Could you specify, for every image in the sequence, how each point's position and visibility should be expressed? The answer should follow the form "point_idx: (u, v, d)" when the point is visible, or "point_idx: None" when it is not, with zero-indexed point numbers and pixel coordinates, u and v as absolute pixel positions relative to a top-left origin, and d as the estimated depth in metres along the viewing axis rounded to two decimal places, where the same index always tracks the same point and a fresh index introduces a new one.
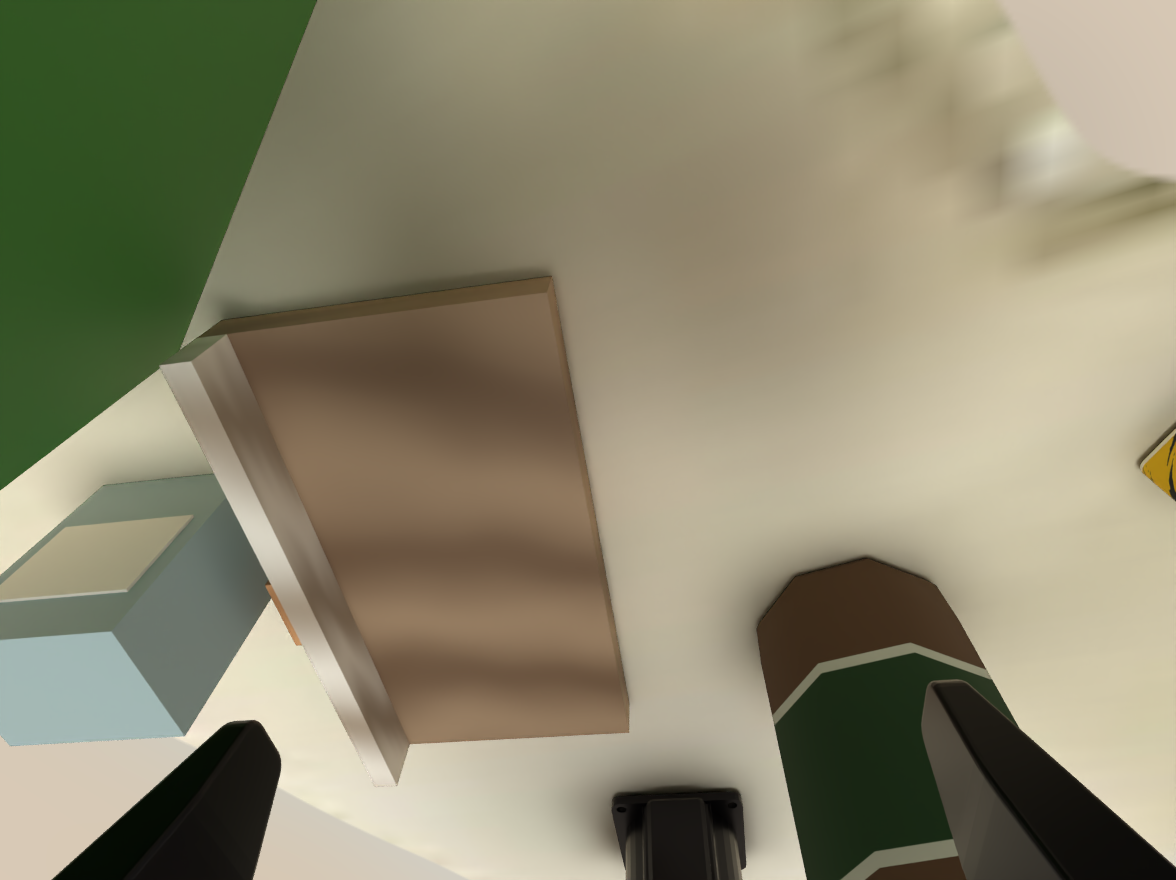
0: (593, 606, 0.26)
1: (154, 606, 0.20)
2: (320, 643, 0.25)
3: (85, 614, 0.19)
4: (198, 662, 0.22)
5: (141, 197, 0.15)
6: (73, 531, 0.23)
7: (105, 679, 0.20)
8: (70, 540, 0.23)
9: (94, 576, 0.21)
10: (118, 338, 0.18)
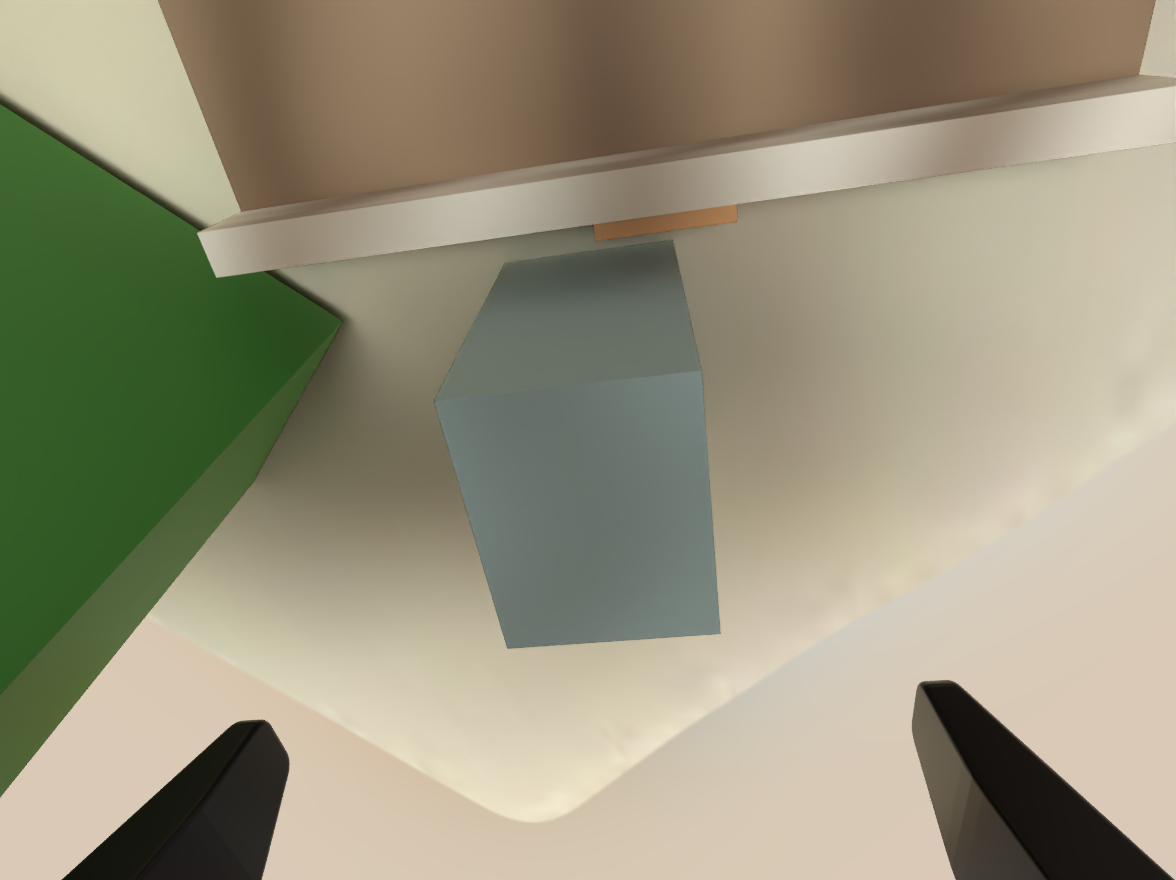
0: None
1: (483, 359, 0.13)
2: (725, 168, 0.14)
3: None
4: (626, 337, 0.13)
5: None
6: None
7: (551, 449, 0.12)
8: None
9: None
10: (127, 327, 0.14)
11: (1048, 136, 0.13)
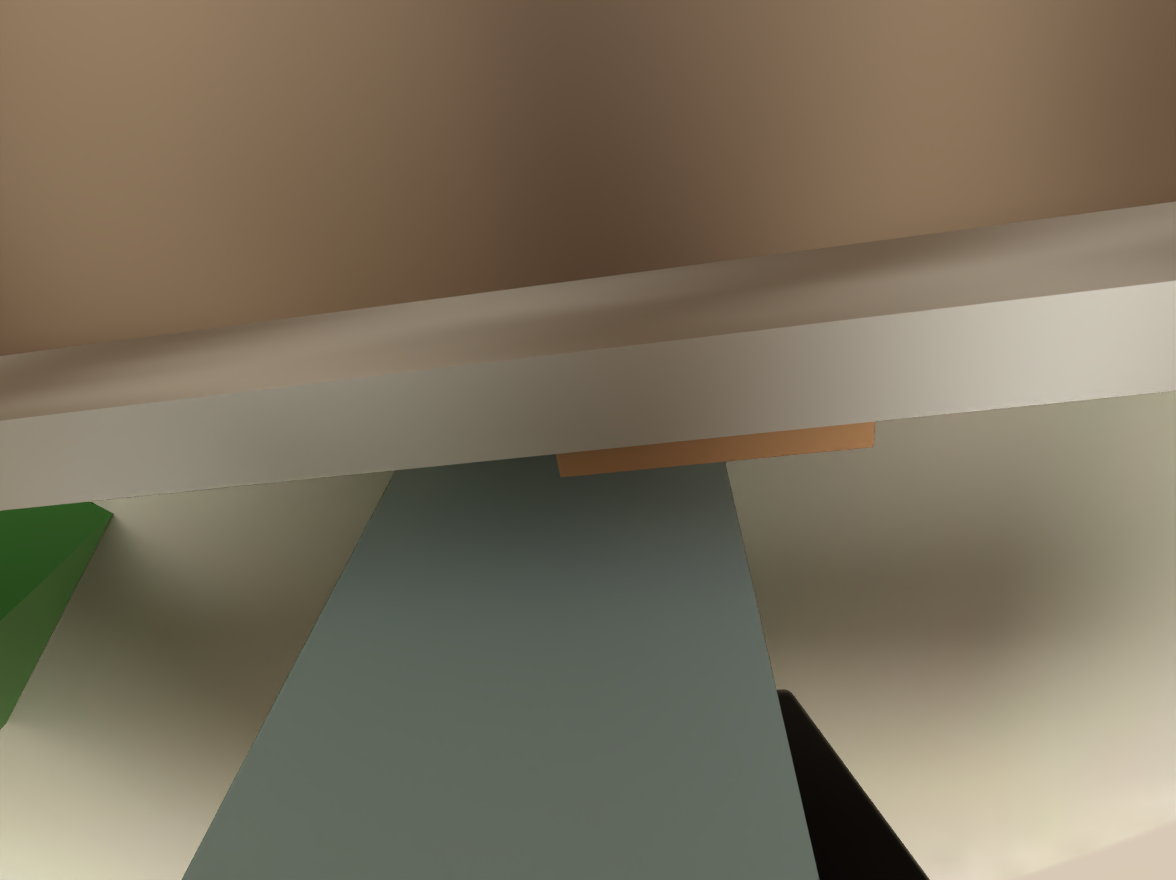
0: None
1: (258, 873, 0.05)
2: (862, 349, 0.06)
3: None
4: (628, 825, 0.05)
5: None
6: None
7: None
8: None
9: None
10: None
11: None
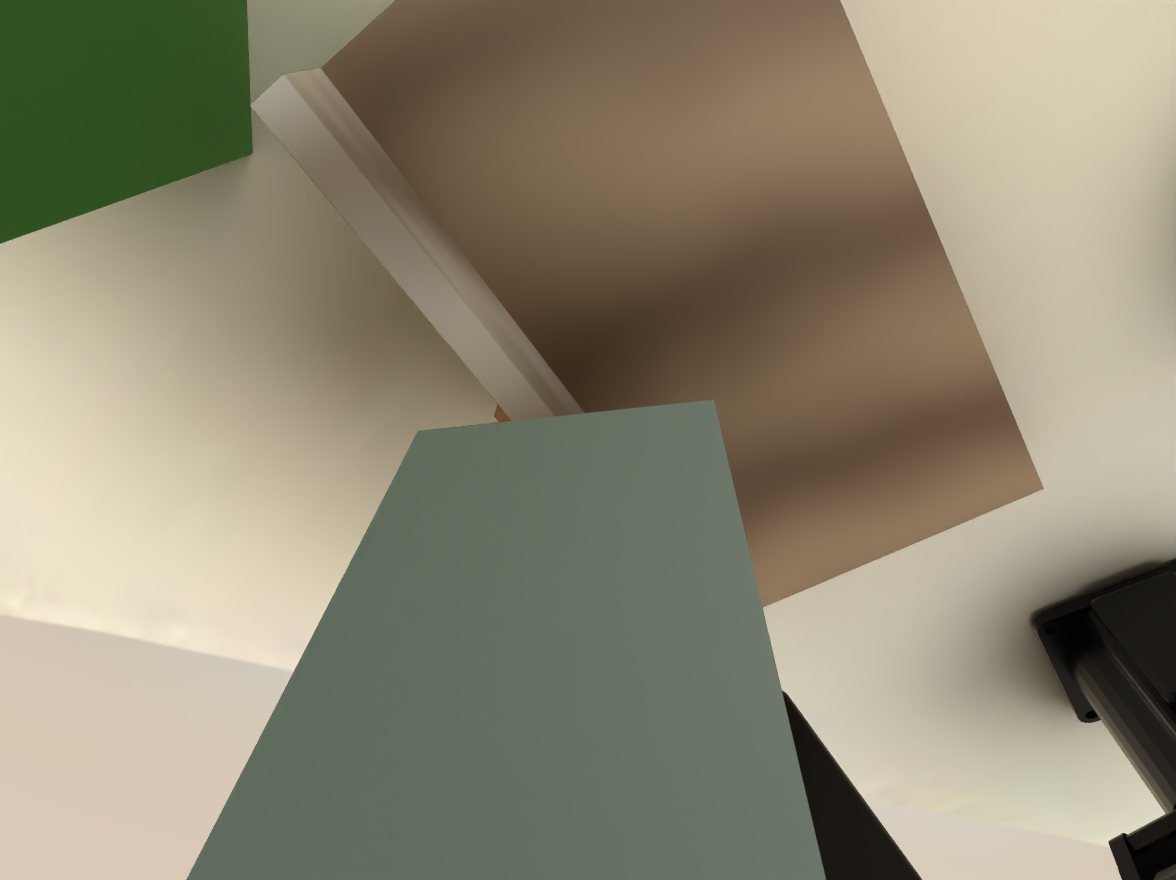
0: (939, 290, 0.17)
1: (262, 875, 0.05)
2: None
3: None
4: (635, 828, 0.05)
5: None
6: None
7: None
8: None
9: None
10: (130, 14, 0.12)
11: None
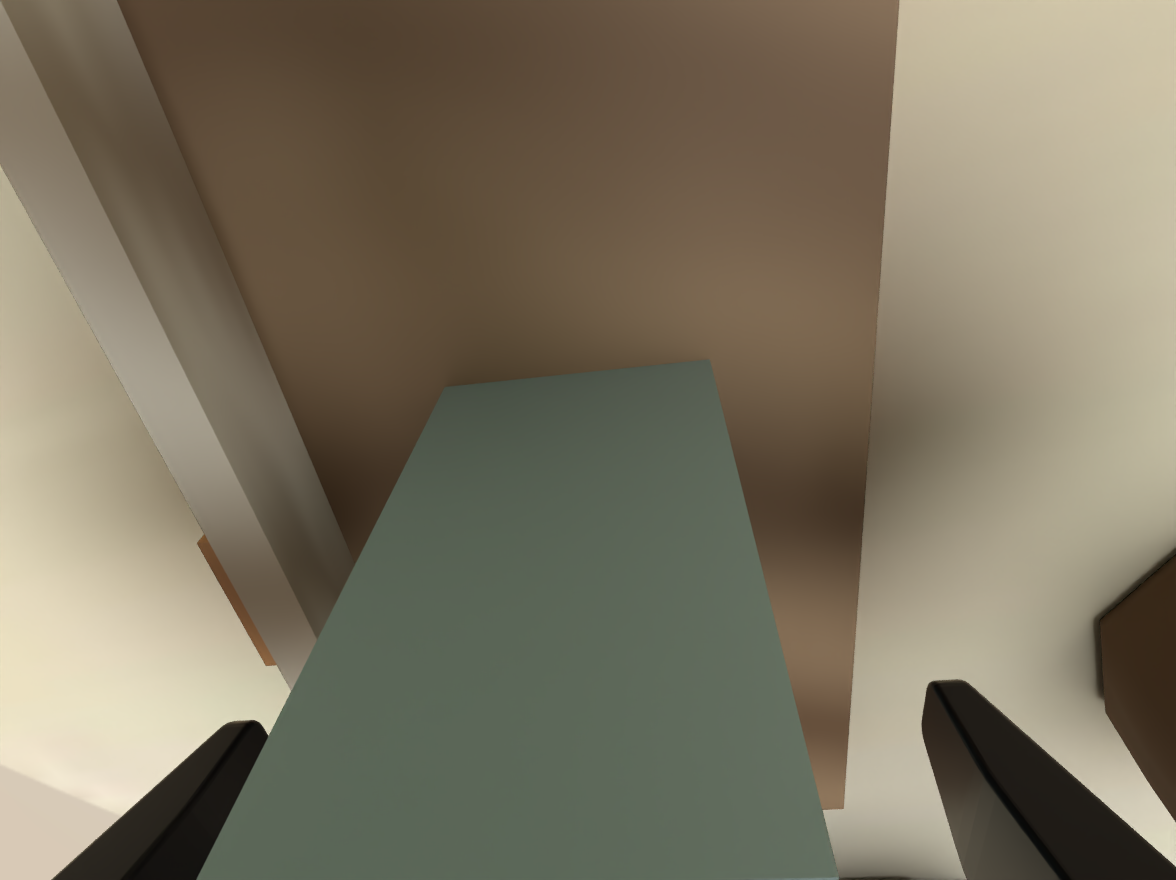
0: (835, 590, 0.14)
1: (344, 705, 0.06)
2: None
3: None
4: (643, 666, 0.06)
5: None
6: None
7: None
8: None
9: None
10: None
11: None
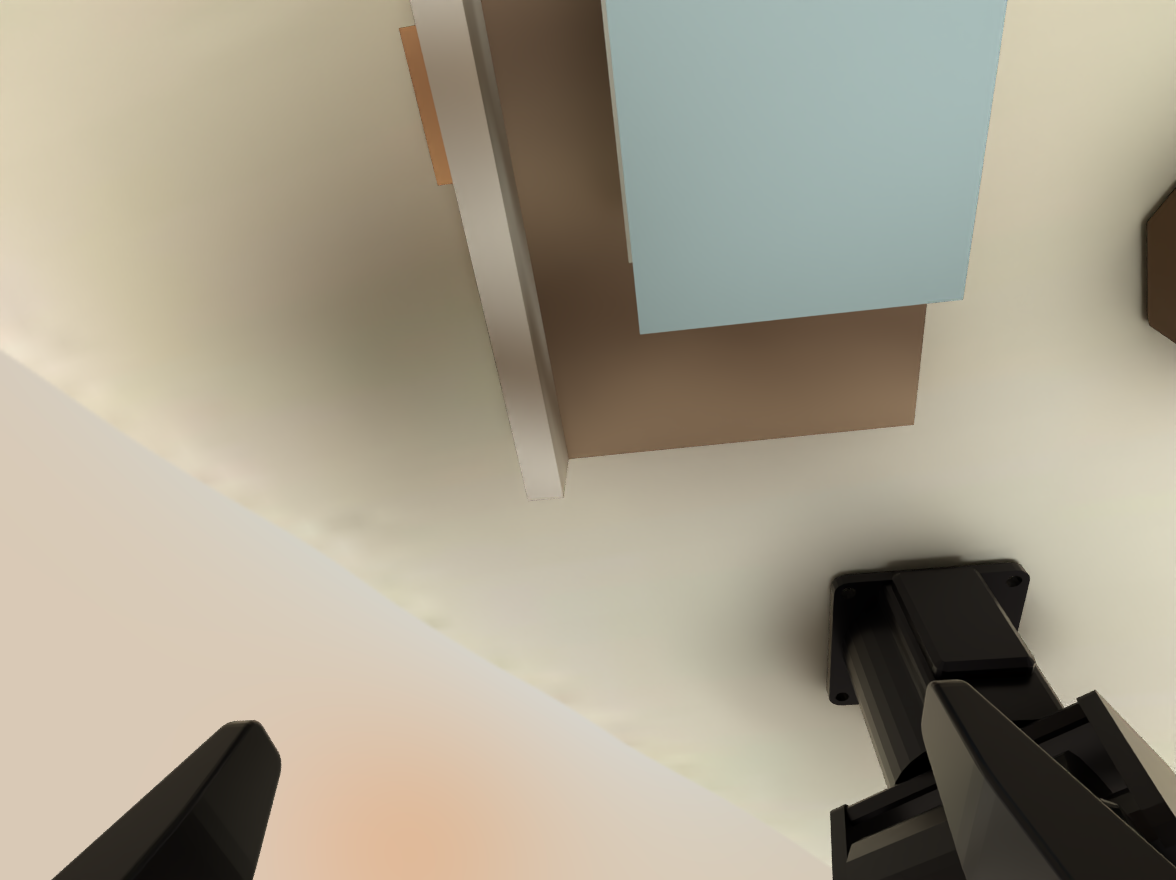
0: None
1: None
2: (483, 169, 0.15)
3: None
4: None
5: None
6: None
7: None
8: None
9: None
10: None
11: (525, 417, 0.18)
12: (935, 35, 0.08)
